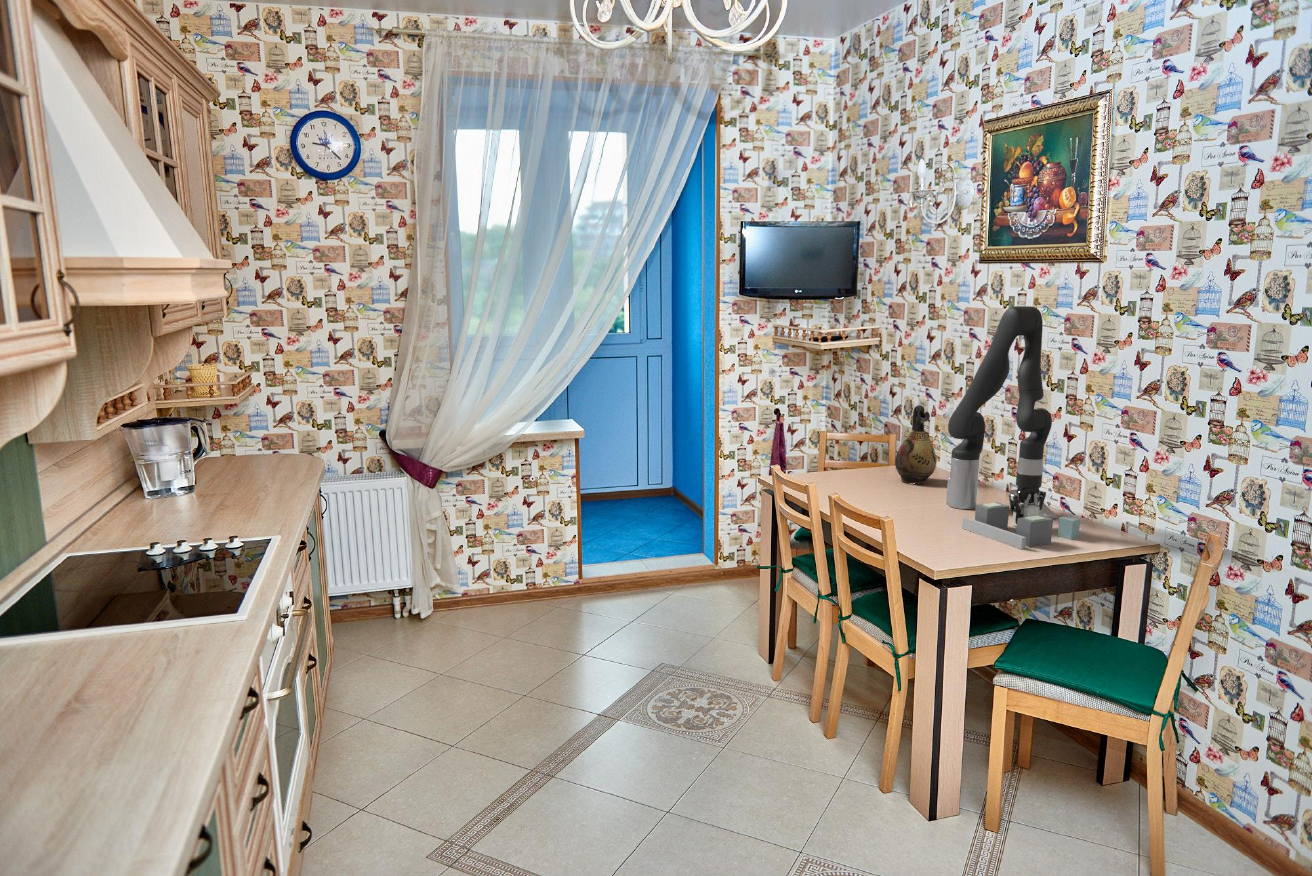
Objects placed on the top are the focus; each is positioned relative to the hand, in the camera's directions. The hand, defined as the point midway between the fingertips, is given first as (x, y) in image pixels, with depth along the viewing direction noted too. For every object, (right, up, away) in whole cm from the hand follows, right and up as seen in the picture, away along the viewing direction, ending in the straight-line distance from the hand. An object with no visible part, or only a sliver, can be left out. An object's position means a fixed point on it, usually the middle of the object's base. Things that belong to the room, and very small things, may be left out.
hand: (1025, 523), depth 281 cm
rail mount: (-10, -3, -10) cm, 14 cm away
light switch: (+9, +1, +15) cm, 18 cm away
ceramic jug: (-16, +10, +65) cm, 68 cm away
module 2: (+9, -3, -10) cm, 14 cm away
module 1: (0, -1, 0) cm, 1 cm away
